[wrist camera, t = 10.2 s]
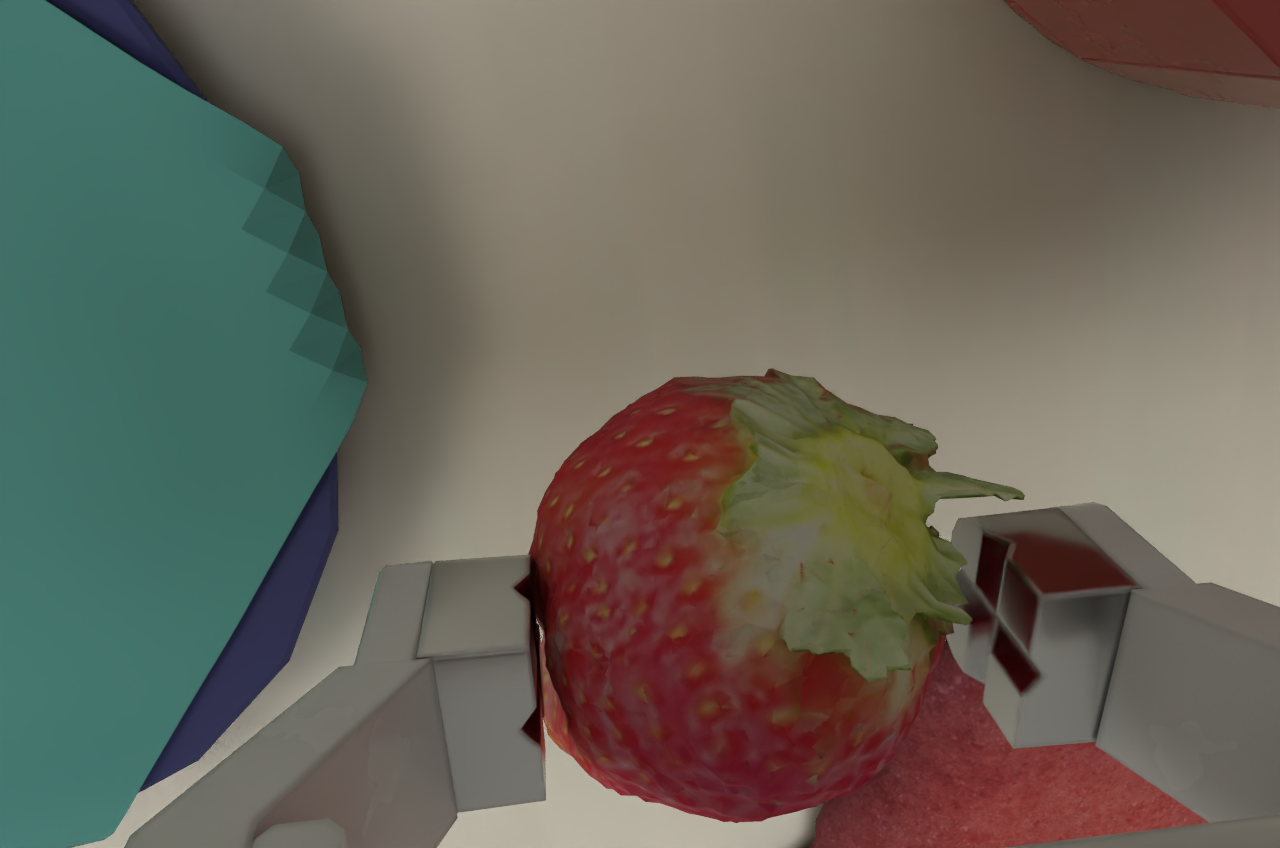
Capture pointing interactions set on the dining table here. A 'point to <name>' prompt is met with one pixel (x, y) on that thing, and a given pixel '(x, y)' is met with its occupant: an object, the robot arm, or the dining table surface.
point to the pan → (1172, 42)
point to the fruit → (744, 594)
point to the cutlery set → (148, 416)
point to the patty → (989, 785)
